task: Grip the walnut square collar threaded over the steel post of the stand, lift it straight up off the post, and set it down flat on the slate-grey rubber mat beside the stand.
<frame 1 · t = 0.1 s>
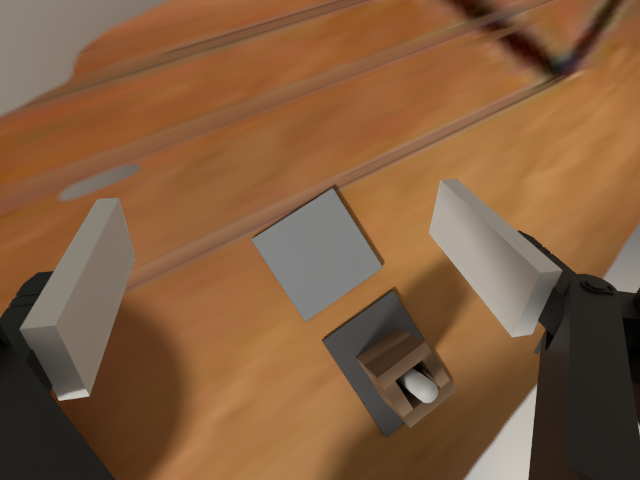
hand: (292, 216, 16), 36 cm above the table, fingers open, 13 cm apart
slate mat: (318, 254, 53), on the table
post stand: (388, 362, 54), on the table
walnut collar: (389, 363, 53), resting on post stand
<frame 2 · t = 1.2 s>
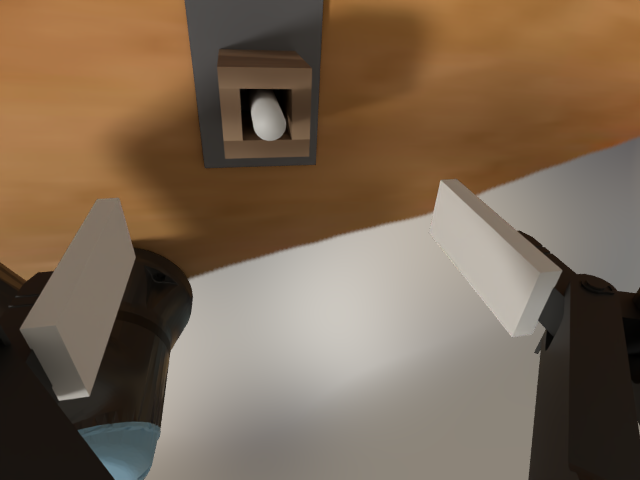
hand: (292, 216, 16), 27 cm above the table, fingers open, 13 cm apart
post stand: (258, 88, 38), on the table
walnut collar: (259, 89, 38), resting on post stand
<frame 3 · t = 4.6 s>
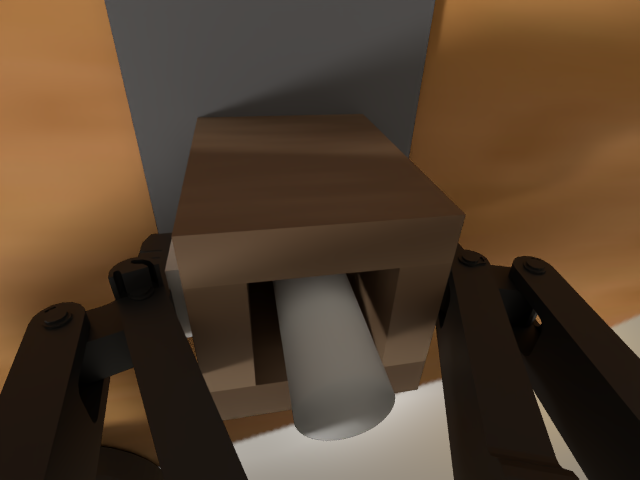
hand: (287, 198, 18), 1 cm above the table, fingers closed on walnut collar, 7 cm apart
post stand: (283, 185, 19), on the table
walnut collar: (284, 190, 18), point 1 cm above the table, touching gripper, post stand
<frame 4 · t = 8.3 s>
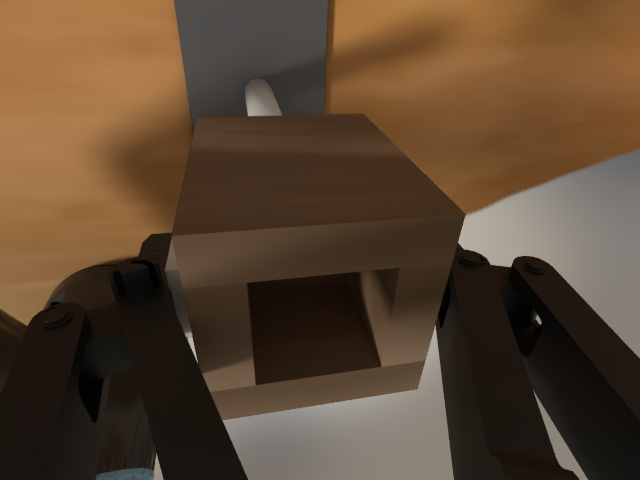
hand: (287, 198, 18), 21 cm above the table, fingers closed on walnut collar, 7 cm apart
post stand: (258, 91, 35), on the table
walnut collar: (284, 190, 18), point 20 cm above the table, touching gripper
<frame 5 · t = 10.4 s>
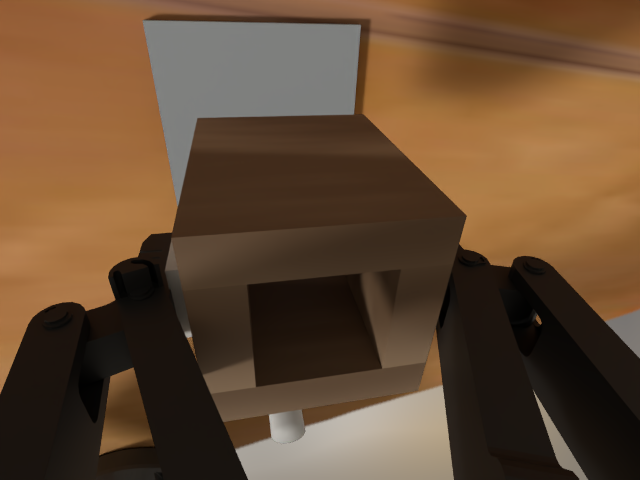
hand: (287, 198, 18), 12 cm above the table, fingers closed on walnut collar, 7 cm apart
slate mat: (262, 127, 27), on the table
post stand: (271, 315, 37), on the table
walnut collar: (284, 191, 18), point 11 cm above the table, touching gripper
when the fingers open (3 cm above the table, at t = 12.2 s): walnut collar drops 2 cm, resting on slate mat.
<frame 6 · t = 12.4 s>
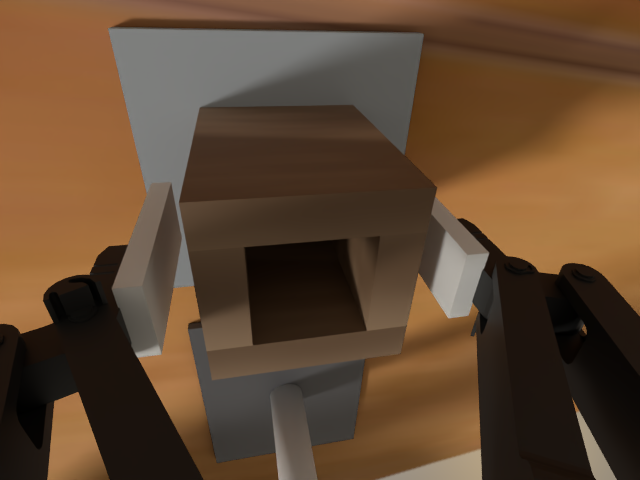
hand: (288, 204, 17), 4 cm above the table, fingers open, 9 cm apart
slate mat: (279, 171, 20), on the table
post stand: (285, 388, 30), on the table
walnut collar: (280, 176, 20), point 1 cm above the table, touching slate mat
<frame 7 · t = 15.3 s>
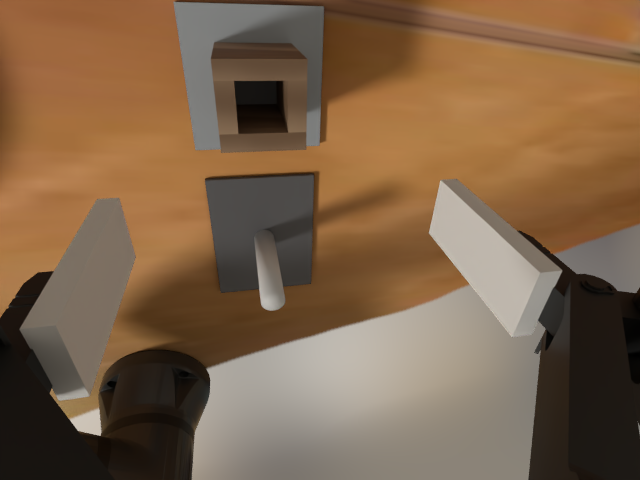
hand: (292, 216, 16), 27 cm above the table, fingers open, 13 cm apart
slate mat: (255, 81, 38), on the table
post stand: (263, 235, 48), on the table
walnut collar: (255, 83, 38), point 1 cm above the table, touching slate mat
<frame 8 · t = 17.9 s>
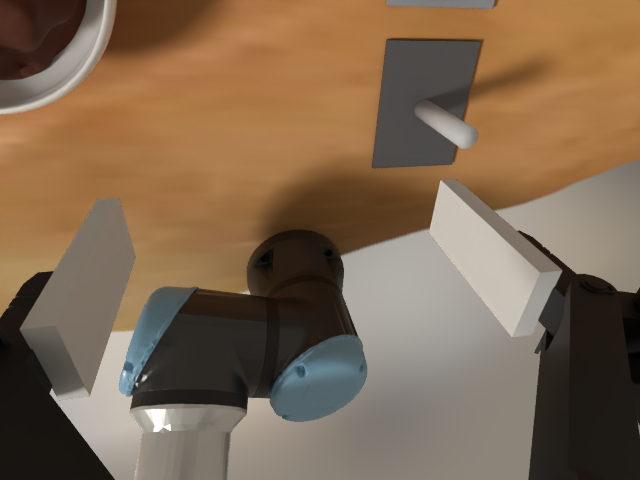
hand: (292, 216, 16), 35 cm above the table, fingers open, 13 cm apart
post stand: (421, 108, 51), on the table
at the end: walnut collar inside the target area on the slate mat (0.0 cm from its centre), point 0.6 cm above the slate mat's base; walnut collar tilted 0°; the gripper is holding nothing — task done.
